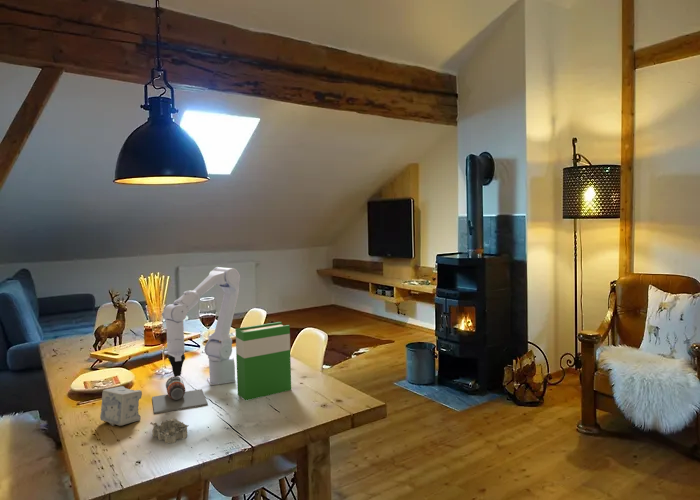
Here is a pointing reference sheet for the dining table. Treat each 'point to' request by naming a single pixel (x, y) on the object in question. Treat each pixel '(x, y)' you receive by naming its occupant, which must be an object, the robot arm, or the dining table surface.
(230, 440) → the dining table surface
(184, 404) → the mat
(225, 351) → the robot arm
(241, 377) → the hardback book
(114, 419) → the incense holder
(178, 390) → the supplement bottle
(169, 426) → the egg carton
